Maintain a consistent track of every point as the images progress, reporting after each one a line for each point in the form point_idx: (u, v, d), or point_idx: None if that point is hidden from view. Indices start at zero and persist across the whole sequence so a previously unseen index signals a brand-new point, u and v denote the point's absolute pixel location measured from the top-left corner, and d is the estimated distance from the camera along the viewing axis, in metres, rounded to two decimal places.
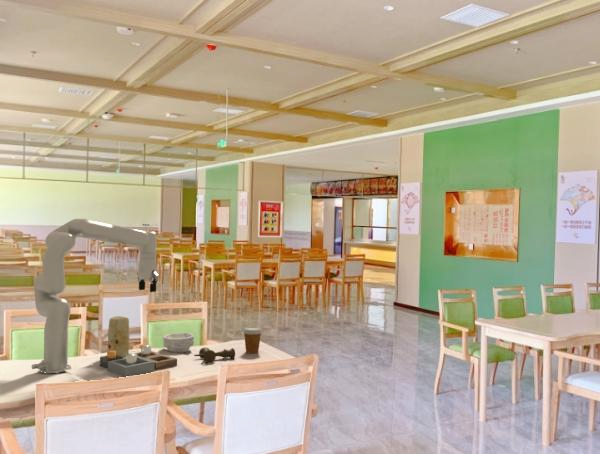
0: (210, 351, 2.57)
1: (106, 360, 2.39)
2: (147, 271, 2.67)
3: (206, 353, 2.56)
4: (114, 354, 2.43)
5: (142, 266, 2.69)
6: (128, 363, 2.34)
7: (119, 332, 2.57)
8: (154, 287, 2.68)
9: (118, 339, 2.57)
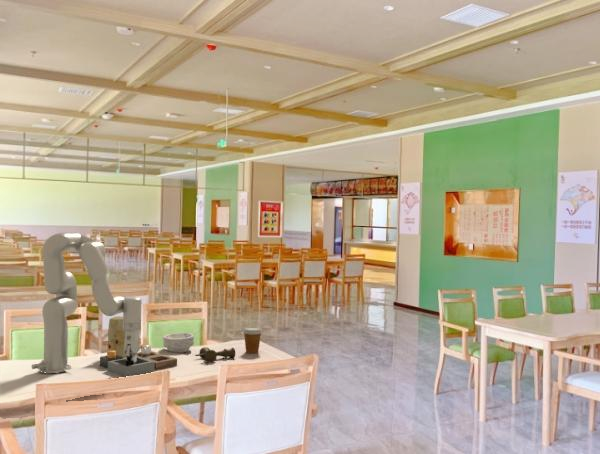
0: (211, 351, 2.58)
1: (106, 360, 2.39)
2: None
3: (207, 353, 2.57)
4: (114, 354, 2.43)
5: (138, 337, 2.37)
6: None
7: (119, 332, 2.57)
8: None
9: (118, 339, 2.57)
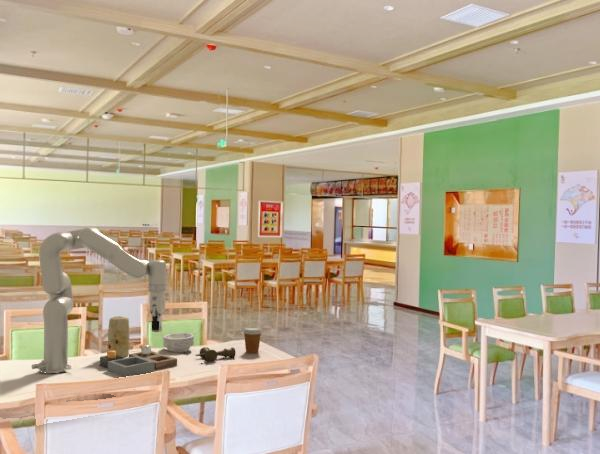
0: (212, 350, 2.58)
1: (106, 360, 2.39)
2: (164, 302, 2.49)
3: (208, 353, 2.57)
4: (114, 354, 2.43)
5: (163, 298, 2.45)
6: None
7: (119, 332, 2.57)
8: None
9: (118, 339, 2.57)
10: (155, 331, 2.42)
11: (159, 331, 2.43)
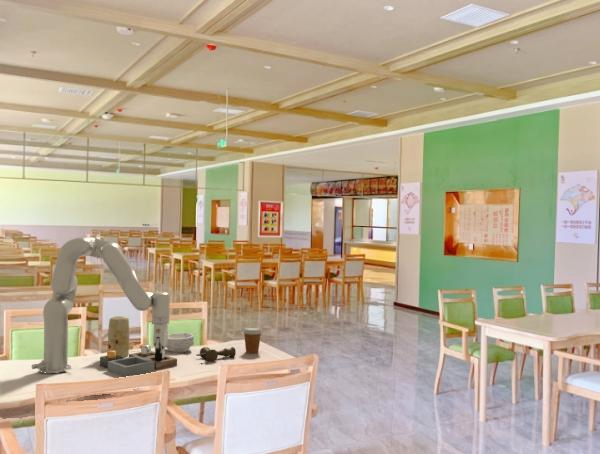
0: (212, 350, 2.59)
1: (106, 360, 2.39)
2: (167, 334, 2.50)
3: (209, 352, 2.58)
4: (114, 354, 2.43)
5: (166, 330, 2.47)
6: None
7: (119, 332, 2.57)
8: None
9: (118, 339, 2.57)
10: None
11: None
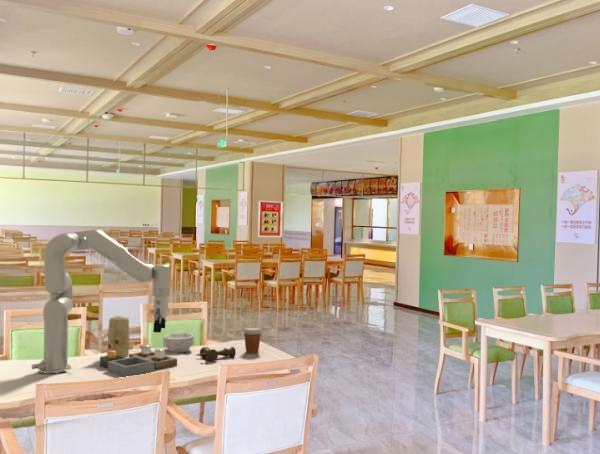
0: (213, 350, 2.59)
1: (106, 360, 2.39)
2: None
3: (209, 352, 2.58)
4: (114, 354, 2.43)
5: (167, 303, 2.47)
6: (157, 358, 2.44)
7: (119, 332, 2.57)
8: None
9: (118, 339, 2.57)
10: None
11: None
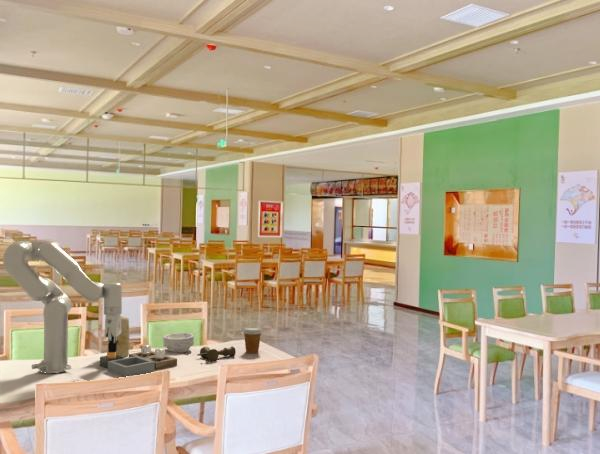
0: (213, 350, 2.60)
1: (106, 360, 2.39)
2: None
3: (210, 352, 2.59)
4: (114, 355, 2.43)
5: (119, 321, 2.44)
6: (157, 357, 2.45)
7: None
8: None
9: (118, 339, 2.57)
10: None
11: None
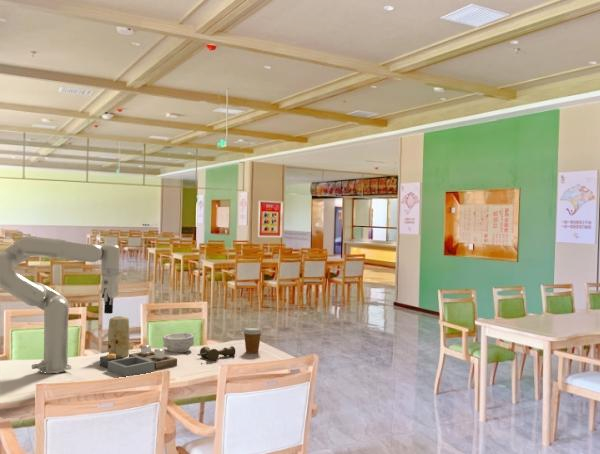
0: (214, 350, 2.60)
1: (106, 360, 2.39)
2: None
3: (210, 352, 2.59)
4: (114, 357, 2.43)
5: (116, 283, 2.46)
6: (156, 358, 2.44)
7: (119, 332, 2.57)
8: None
9: (118, 339, 2.57)
10: None
11: None
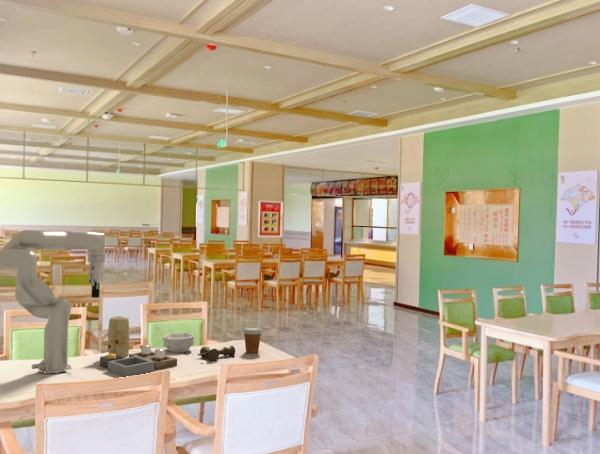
0: (214, 349, 2.61)
1: (106, 360, 2.39)
2: None
3: (211, 352, 2.59)
4: (114, 357, 2.43)
5: (102, 269, 2.60)
6: (156, 358, 2.44)
7: (119, 332, 2.57)
8: None
9: (118, 339, 2.57)
10: None
11: None
